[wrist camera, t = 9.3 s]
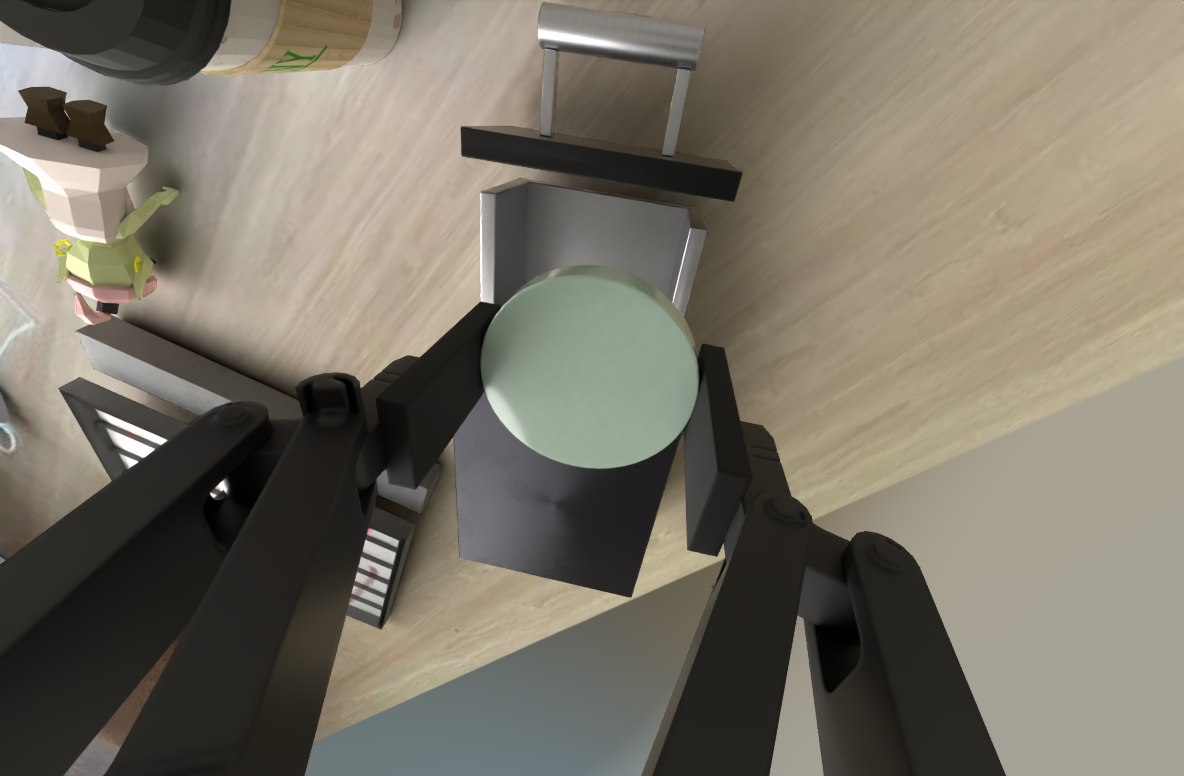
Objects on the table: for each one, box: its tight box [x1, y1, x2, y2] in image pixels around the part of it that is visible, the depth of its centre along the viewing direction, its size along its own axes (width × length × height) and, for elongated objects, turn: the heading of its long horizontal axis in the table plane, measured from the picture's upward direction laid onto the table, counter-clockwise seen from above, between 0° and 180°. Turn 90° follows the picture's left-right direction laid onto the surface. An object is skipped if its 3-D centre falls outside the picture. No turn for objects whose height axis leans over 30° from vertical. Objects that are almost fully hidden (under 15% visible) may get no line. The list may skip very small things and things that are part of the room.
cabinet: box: [453, 392, 683, 598], centre depth 33 cm, size 17×14×9 cm
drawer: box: [461, 2, 742, 317], centre depth 25 cm, size 21×13×7 cm, turn 172°
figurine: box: [0, 87, 179, 325], centre depth 31 cm, size 9×7×15 cm
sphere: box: [64, 626, 187, 776], centre depth 59 cm, size 30×30×30 cm
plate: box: [480, 265, 700, 469], centre depth 15 cm, size 7×7×2 cm
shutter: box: [58, 315, 442, 630], centre depth 48 cm, size 32×7×31 cm
